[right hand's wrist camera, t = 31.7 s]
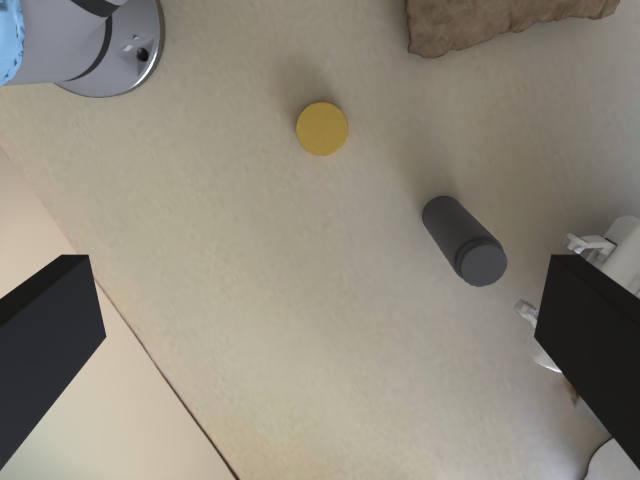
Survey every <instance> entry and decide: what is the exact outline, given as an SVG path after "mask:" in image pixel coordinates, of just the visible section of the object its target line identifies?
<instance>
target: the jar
mask: <svg viewBox="0 0 640 480" xmlns="http://www.w3.org/2000/svg"><path fill="white" fill-rule="evenodd" d="M422 219H423V223H424V225H425V227H426V228H427V230H428V231H429V233H430V234H431V236H432V237H433V239H434V240H435V242H436V243H437V245H438V246H439V248H440V249H441V251H442V252H443V254H444V255H445V257H446V258H447V260H448V261H449V263H450V265H451V266H452V268H453V269H454V271H455V272H456V273H457V275H458V276H460V277H461V278H463V279H464V280H465V281H466V282H467V283H469V284H470V285H473V286H476V287H483V286H487V285H490V284H493V283H495V282H496V281H498V280H499V279H500V278H501V277H502V276H503V274H504V273H505V270H506V268H507V258H506V255H505V253H504V250H503V247H502V245H501V244H500V243H499V241H498V240H497V239H495V238H494V237H493V236H492V235H491V234H490V233H489V232H488V231H487V230H486V229H485V228H484V227H483V226H482V225H481V224H480V223H479V222H478V221H477V220H476V219H475V218H474V217H473V216H472V215H471V214H470V213H469V212H468V211H467V210H466V209H465V208H464V207H463V206H462V205H461V204H460V203H459V202H458V201H457V200H455V199H454V198H452V197H448V196H440V197H437V198H434V199H433V200H431V201H430V202H429V203H428V204H427V205H426V206H425V208H424V210H423V214H422Z"/></svg>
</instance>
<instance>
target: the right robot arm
mask: <svg viewBox="0 0 640 480" xmlns="http://www.w3.org/2000/svg"><path fill="white" fill-rule="evenodd" d="M164 41H165V22H164V15H163V11H162V7H161V3H160V0H0V86H5V85H20V84H35V83H51V82H53V83H54V84H56V85H57V86H59V87H61V88H63V89H65V90H67V91H69V92H72V93H74V94H78V95H81V96H86V97H94V98H103V97H111V96H117V95H122V94H125V93H128V92H130V91H132V90H134V89H136V88H137V87H139V86H140V85H142V84H143V83H144V82H145V81H146V80H147V79H148V78H149V77H150V76H151V74H152V73H153V72H154V70H155V69H156V67H157V65H158V63H159V61H160V58H161V55H162V52H163V48H164ZM105 338H106V333H105V328H104V324H103V319H102V314H101V310H100V305H99V301H98V296H97V292H96V287H95V282H94V278H93V273H92V269H91V264H90V259H89V255H60V256H59V257H58V258H56V259H55V260H54V261H52V262H51V263H49V264H48V265H47V266H45V267H44V268H42V269H41V270H40V271H38V272H37V273H36V274H34V275H33V276H31V277H30V278H29V279H27V280H26V281H24V282H23V283H22V284H20V285H19V286H18V287H16V288H15V289H13V290H12V291H11V292H9V293H8V294H7V295H5V296H4V297H2V298H1V299H0V471H1V469H2V468H3V467H4V465H5V464H6V463H7V462H8V460H9V459H10V458H11V457H12V455H13V454H14V453H15V452H16V450H17V449H18V448H19V447H20V445H21V444H22V443H23V441H24V440H25V439H26V438H27V436H28V435H29V434H30V433H31V431H32V430H33V429H34V428H35V426H36V425H37V424H38V422H39V421H40V420H41V419H42V417H43V416H44V415H45V414H46V412H47V411H48V410H49V409H50V407H51V406H52V405H53V404H54V402H55V401H56V400H57V398H58V397H59V396H60V395H61V394H62V392H63V391H64V390H65V388H66V387H67V386H68V385H69V383H70V382H71V381H72V380H73V378H74V377H75V376H76V374H77V373H78V372H79V371H80V369H81V368H82V367H83V366H84V364H85V363H86V362H87V361H88V359H89V358H90V357H91V356H92V354H93V353H94V352H95V351H96V349H97V348H98V347H99V346H100V344H101V343H102V342H103V340H104V339H105ZM534 338H535V339H536V340H537V342H538V343H539V344H540V346H541V347H542V348H543V349H544V351H545V352H546V353H547V354H548V356H549V357H550V358H551V359H552V361H553V362H554V363H555V364H556V366H557V367H558V368H559V370H560V371H561V372H562V373H563V375H564V376H565V377H566V378H567V380H568V381H569V382H570V383H571V385H572V386H573V387H574V388H575V390H576V391H577V392H578V394H579V395H580V396H581V397H582V399H583V400H584V401H585V402H586V404H587V405H588V406H589V407H590V409H591V410H592V411H593V412H594V414H595V415H596V416H597V417H598V419H599V420H600V421H601V423H602V424H603V425H604V426H605V428H606V429H607V430H608V431H609V433H610V434H611V435H612V436H613V438H614V439H615V440H616V441H617V443H618V444H619V445H620V447H621V448H622V449H623V450H624V452H625V453H626V454H627V455H628V457H629V458H630V459H631V460H632V462H633V463H634V464H635V465H636V467H637V468H638V469H639V471H640V299H639V298H638V297H636V296H635V295H633V294H632V293H631V292H629V291H628V290H627V289H625V288H624V287H622V286H621V285H620V284H618V283H617V282H616V281H614V280H613V279H611V278H610V277H609V276H607V275H606V274H605V273H603V272H602V271H600V270H599V269H598V268H596V267H595V266H593V265H592V264H591V263H589V262H588V261H587V260H585V259H584V258H582V257H581V256H580V255H551V259H550V264H549V269H548V273H547V278H546V282H545V287H544V292H543V296H542V301H541V305H540V310H539V314H538V319H537V324H536V328H535V333H534Z"/></svg>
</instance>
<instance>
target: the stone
mask: <svg viewBox="0 0 640 480" xmlns="http://www.w3.org/2000/svg"><path fill="white" fill-rule="evenodd" d="M619 2H620V0H405V12H406V14H407V26H408V28H409V39H410V43H409V46H408V52H409V53H414V54H419V55H420V56H422V57H423V58H437V57H440V56H443V55H444V54H446V53H447V52H448V51H449V50H450V49H454V50H462V49H465V48H468V47H471V46H474V45H476V44H478V43H481V42H485V41H488V40H490V39H492V38H493V37H494V36H495V35H496V34H501V33H507V32H516V33H518V32H522V31H524V30H525V29H527V28H529V27H530V26H531V25H532V24H534V23H535V22H537V21H538V22H549V21H552V20H555V21H558V20H561V19H564V18H567V17H570V16H572V17H579V18H586V17H588V18H589V19H592V20H597V19H602V18H603V17H606V16H609V15H611V14H613V13H614V11H615V9H616V7H617V5H618V4H619Z"/></svg>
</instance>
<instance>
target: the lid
mask: <svg viewBox="0 0 640 480" xmlns="http://www.w3.org/2000/svg"><path fill="white" fill-rule="evenodd" d="M296 134H297V138H298V141H299V143H300V144H301V146H302V147H303V148H304V149H305V150H307V151H308V152H310V153H312V154H314V155H319V156H325V155H329V154H332V153H334V152H336V151H337V150H339V149H340V148H341V147H342V145H343V144H344V142H345V140H346V138H347V134H348V124H347V120H346V118H345V116H344V114H343V112H342V111H341V110H340V109H339V108H338V107H337V106H336V105H334V104H332V103H330V102H326V101H318V102H314V103H312V104H310V105H308V106H307V107H306V108H304V109H303V111H302V112H301V114H300V115H299V118H298V120H297V124H296Z"/></svg>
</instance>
